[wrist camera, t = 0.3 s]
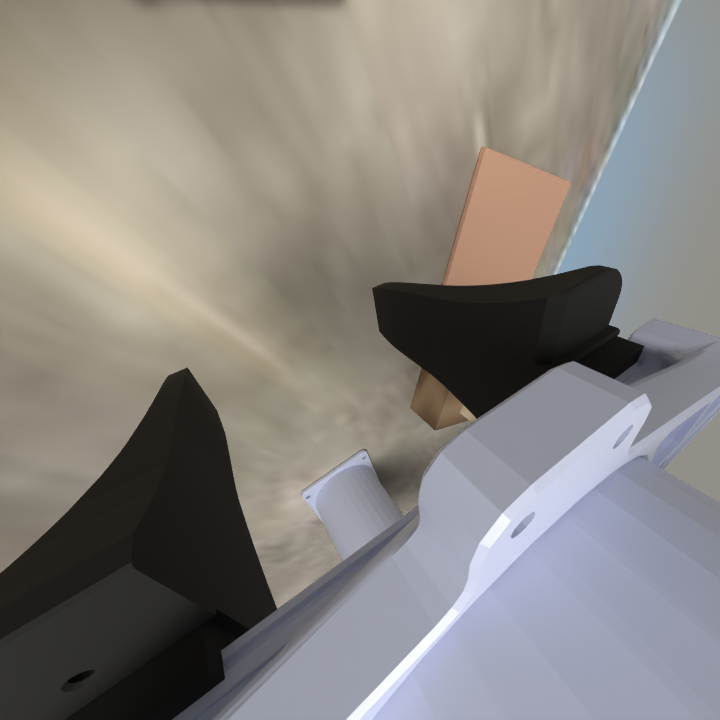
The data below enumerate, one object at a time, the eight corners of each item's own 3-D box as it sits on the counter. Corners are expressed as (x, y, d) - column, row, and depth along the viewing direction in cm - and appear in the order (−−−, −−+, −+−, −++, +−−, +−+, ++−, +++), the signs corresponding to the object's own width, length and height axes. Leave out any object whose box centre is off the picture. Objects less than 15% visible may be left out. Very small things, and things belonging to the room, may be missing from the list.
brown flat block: (479, 391, 40) (505, 408, 37) (410, 407, 34) (435, 430, 31) (515, 303, 34) (549, 315, 32) (440, 303, 28) (473, 319, 25)
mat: (518, 301, 35) (521, 302, 34) (437, 301, 28) (440, 303, 28) (567, 182, 29) (571, 182, 29) (481, 147, 23) (485, 147, 22)
